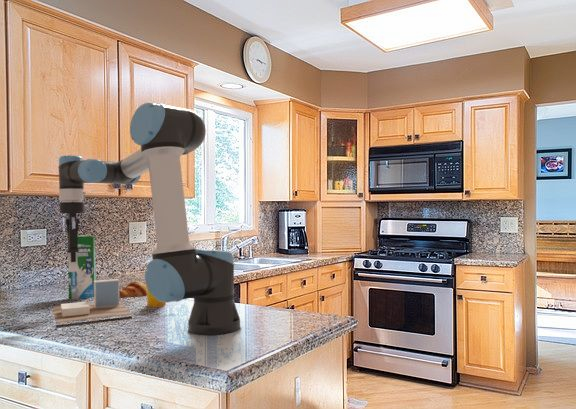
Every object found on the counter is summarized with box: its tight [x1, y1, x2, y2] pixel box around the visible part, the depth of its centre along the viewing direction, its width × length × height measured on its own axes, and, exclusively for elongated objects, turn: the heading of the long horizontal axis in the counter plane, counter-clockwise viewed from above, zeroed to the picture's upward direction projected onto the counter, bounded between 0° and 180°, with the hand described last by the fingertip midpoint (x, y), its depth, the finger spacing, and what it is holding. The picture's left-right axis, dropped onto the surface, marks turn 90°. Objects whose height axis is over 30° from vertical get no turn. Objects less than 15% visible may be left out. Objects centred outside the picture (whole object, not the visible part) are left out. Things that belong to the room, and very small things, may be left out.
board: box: [52, 299, 133, 329], centre depth 160 cm, size 26×22×2 cm
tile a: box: [60, 301, 90, 317], centre depth 156 cm, size 3×8×9 cm
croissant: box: [119, 281, 147, 299], centre depth 190 cm, size 21×10×8 cm, turn 139°
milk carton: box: [67, 235, 97, 301], centre depth 188 cm, size 9×9×25 cm
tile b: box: [93, 278, 120, 308], centre depth 166 cm, size 3×8×9 cm, turn 118°
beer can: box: [146, 288, 167, 308], centre depth 167 cm, size 6×6×15 cm
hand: (73, 271), depth 162 cm, fingers closed
